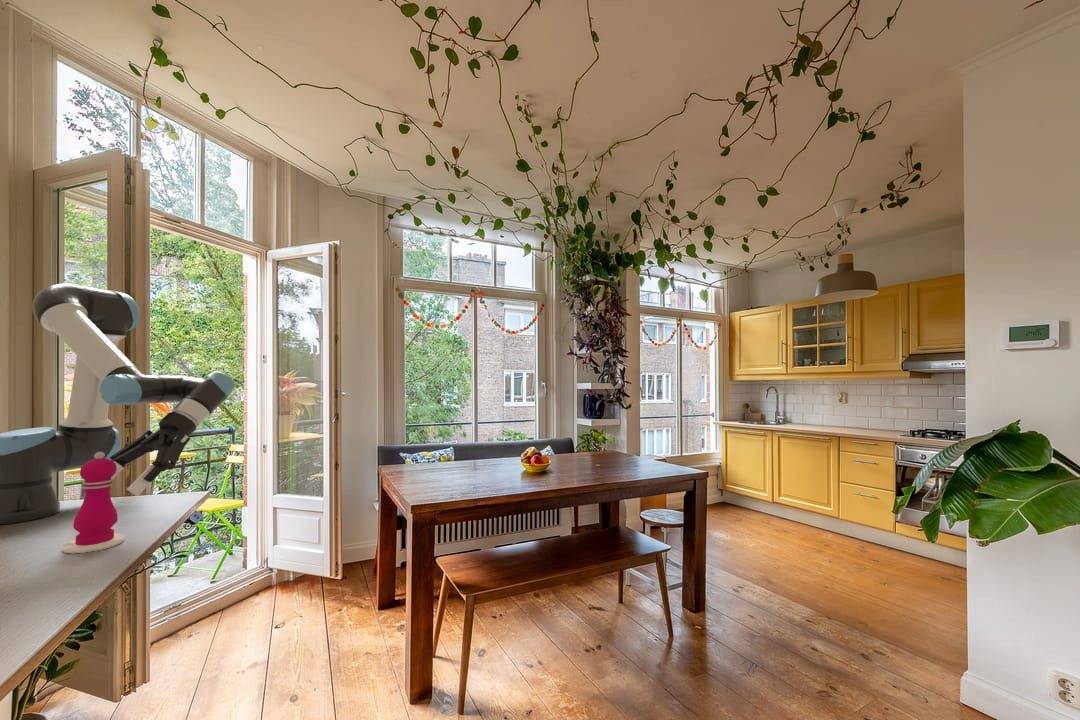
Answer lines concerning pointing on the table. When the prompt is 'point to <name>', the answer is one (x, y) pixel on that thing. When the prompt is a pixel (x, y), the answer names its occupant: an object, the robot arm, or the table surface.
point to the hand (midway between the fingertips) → (112, 490)
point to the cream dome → (74, 548)
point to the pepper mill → (96, 502)
